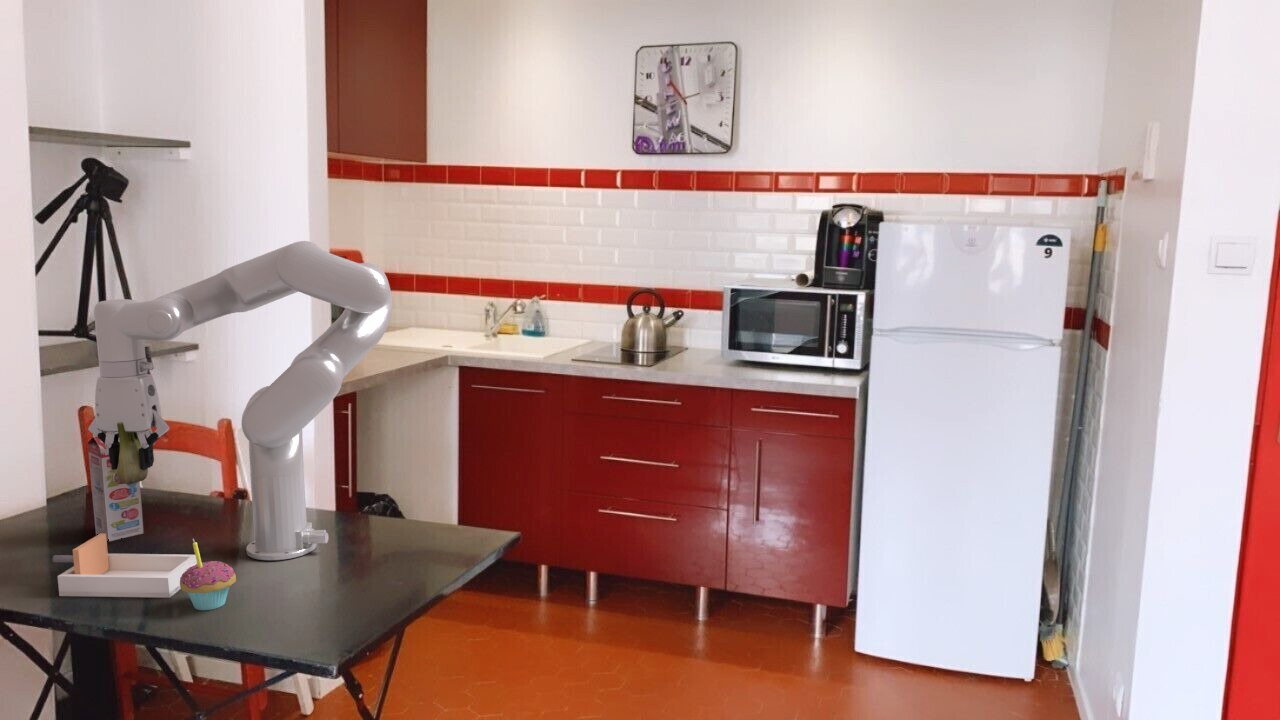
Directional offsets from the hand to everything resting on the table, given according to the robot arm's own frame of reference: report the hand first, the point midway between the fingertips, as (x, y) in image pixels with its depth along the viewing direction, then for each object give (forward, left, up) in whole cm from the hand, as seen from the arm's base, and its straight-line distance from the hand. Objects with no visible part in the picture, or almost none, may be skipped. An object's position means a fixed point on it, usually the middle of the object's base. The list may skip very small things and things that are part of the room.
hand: (132, 466), depth 185 cm
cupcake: (-22, +19, -18) cm, 34 cm away
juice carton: (+12, -15, -18) cm, 27 cm away
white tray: (-4, +11, -18) cm, 21 cm away
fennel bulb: (0, 0, -3) cm, 3 cm away
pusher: (+6, +11, -17) cm, 21 cm away
